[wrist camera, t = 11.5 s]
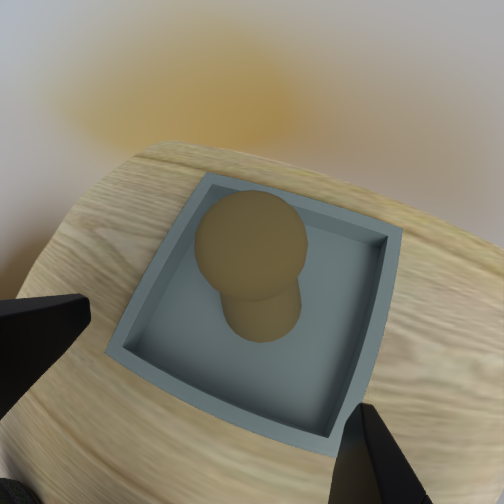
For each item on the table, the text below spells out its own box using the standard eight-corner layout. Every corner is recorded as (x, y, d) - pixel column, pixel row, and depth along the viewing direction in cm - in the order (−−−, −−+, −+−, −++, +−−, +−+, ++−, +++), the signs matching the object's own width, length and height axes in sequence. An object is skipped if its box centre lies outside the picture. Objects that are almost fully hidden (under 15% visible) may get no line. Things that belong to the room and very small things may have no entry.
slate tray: (329, 449, 16) (337, 458, 13) (123, 358, 20) (104, 352, 18) (391, 246, 23) (402, 228, 20) (213, 192, 28) (207, 171, 25)
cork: (227, 266, 23) (191, 171, 13) (302, 269, 22) (318, 172, 12) (218, 339, 20) (161, 288, 10) (300, 345, 19) (323, 299, 10)
